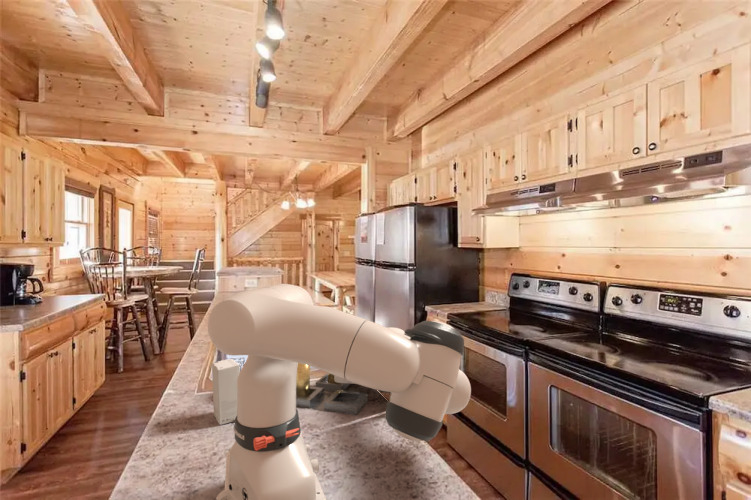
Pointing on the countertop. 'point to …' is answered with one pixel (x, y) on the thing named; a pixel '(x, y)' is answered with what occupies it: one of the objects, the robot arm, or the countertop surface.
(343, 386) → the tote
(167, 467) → the countertop surface
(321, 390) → the fixture plate
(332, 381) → the billet
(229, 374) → the skincare box
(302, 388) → the cylinder
